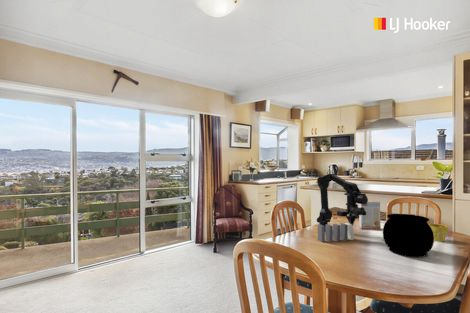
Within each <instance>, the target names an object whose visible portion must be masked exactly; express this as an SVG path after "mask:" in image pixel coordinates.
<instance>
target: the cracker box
mask: <svg viewBox="0 0 470 313" xmlns="http://www.w3.org/2000/svg"><path fill="white" fill-rule="evenodd" d="M361 207H363V208H364V209H365V211H366V215H361V216H360V215H358V216H359V217H358V218H359V219H358V223H359V224H358V227H359V228H360V229H361V230H381V201H378V200H368V202H367V204H359V203H358V208H361Z"/></svg>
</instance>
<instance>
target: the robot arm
mask: <svg viewBox="0 0 470 313" xmlns="http://www.w3.org/2000/svg"><path fill="white" fill-rule="evenodd" d="M316 182H317V186H318V188H319V189H320V205H321V208H320V210H319V215H318V217H317V218H316V219H315V220H316V223H318V225H323V226H325V224H329V223H330V222H331V220H332V217H333V212H332V210H330V208H329V194H328V188H329V186H330V182H334V183H336V184H337V185H339V186H341V187H342V188H343V190H345V192H344V194H343V195H344V196H346V203H345V205H346V209H345V210H337V211H336V215H337V216H340V217H345V218H347V219H346V220H347V221H348V223H350V224H352V226H354V223H355V221H356V219H357V218H359V215H360V216H361V215H366V211H365V209H364V208H363V207H361V208H359V204H367V202H368V201H369V199H368V197H367V195H366V193H364V192H363V193H362V192H361V190H360V188H359V187H358V184H357V183H356V182H351V181H347V180H345V179H343V178H341V177H340V176H338V175H336V174H335V173H328V174H326V175H323V176H319V177H317V179H316Z"/></svg>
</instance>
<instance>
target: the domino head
mask: <svg viewBox="0 0 470 313" xmlns="http://www.w3.org/2000/svg"><path fill="white" fill-rule="evenodd" d="M344 224H346V225H348V239H349V240H352V241H353V240H356V238H355V232H354V227H353V226H354V225H353V226H352V224H350V223H349V222H345V223H344Z"/></svg>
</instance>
